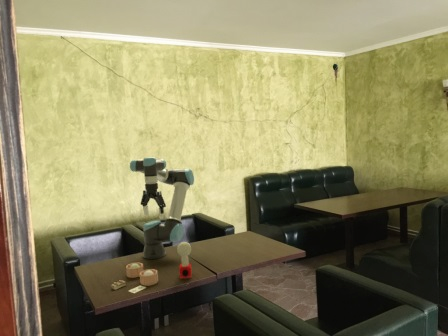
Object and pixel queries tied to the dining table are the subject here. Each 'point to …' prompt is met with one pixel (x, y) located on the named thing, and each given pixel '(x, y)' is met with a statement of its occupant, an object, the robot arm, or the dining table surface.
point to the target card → (137, 289)
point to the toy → (184, 260)
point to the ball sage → (134, 266)
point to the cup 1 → (134, 270)
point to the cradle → (118, 284)
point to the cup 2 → (148, 278)
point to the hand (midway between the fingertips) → (153, 217)
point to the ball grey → (148, 273)
